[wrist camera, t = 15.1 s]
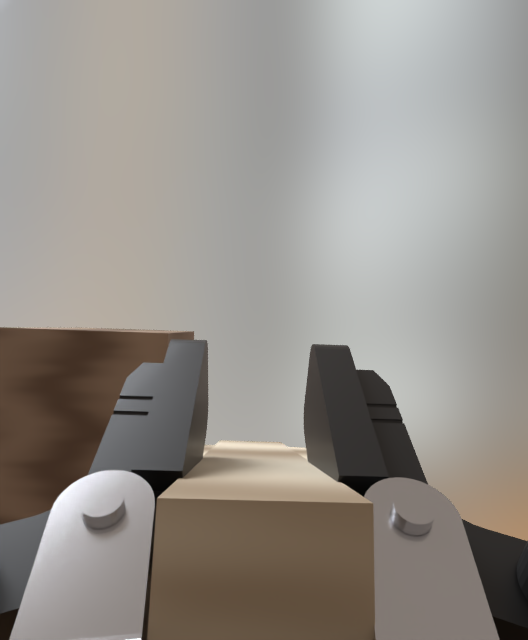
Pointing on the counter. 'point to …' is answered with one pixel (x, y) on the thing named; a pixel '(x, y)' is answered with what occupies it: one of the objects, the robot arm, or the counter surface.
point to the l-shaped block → (261, 551)
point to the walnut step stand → (61, 405)
